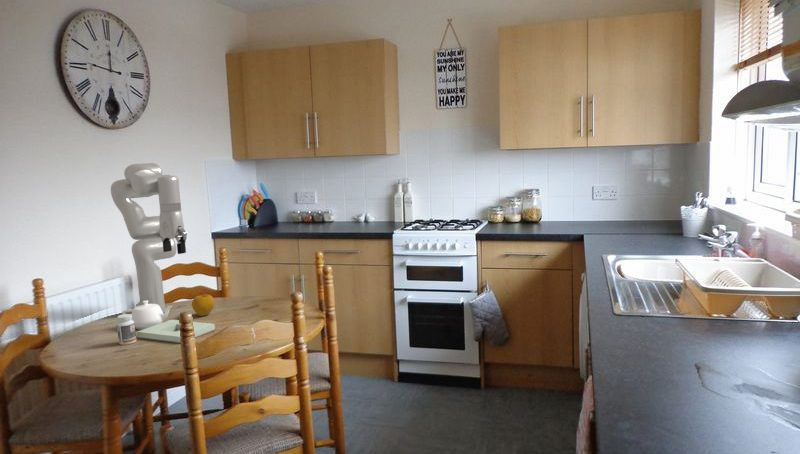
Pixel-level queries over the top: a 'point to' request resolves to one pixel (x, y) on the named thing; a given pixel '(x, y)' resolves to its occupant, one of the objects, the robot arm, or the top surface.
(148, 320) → the teapot
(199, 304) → the apple
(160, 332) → the pocket board
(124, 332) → the pill bottle
